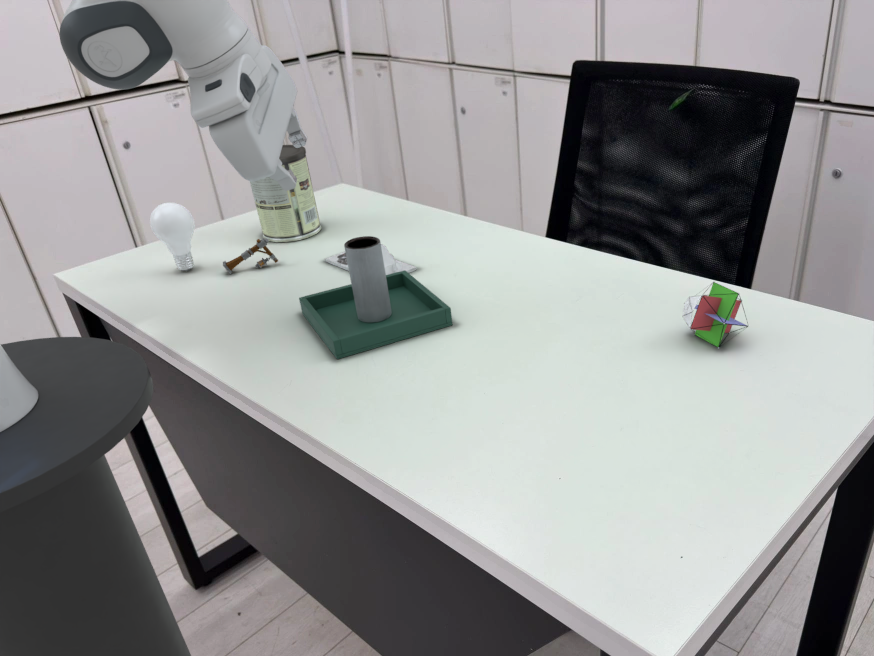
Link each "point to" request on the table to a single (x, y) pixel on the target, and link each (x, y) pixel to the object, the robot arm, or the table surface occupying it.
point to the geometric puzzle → (713, 313)
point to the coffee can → (287, 201)
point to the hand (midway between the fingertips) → (297, 164)
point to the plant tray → (350, 336)
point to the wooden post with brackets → (259, 245)
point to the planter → (368, 278)
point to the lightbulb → (174, 231)
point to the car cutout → (388, 258)
